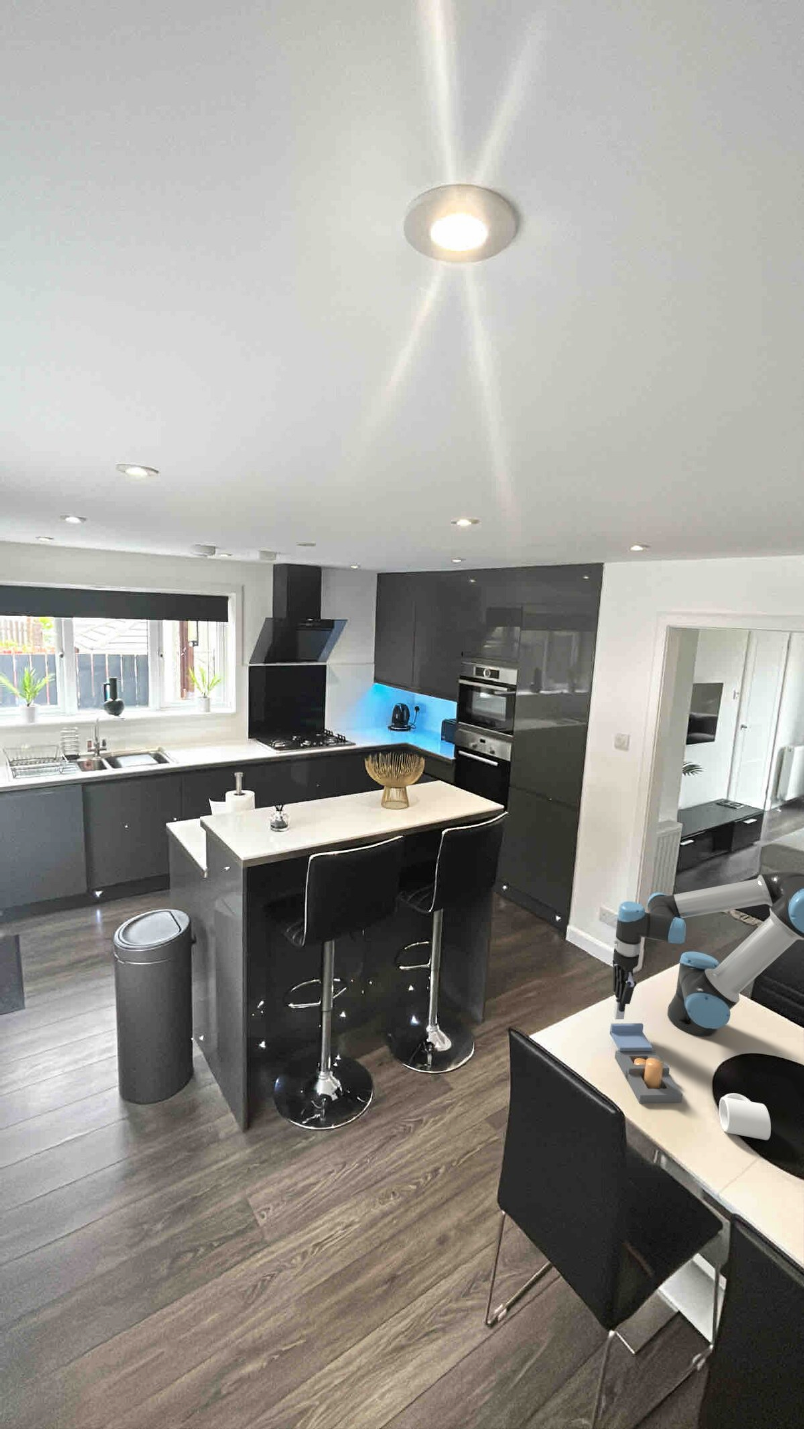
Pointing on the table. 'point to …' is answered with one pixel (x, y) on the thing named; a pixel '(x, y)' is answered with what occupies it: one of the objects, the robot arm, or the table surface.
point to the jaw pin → (653, 1073)
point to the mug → (744, 1117)
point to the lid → (629, 1037)
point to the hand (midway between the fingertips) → (618, 1017)
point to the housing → (636, 1078)
